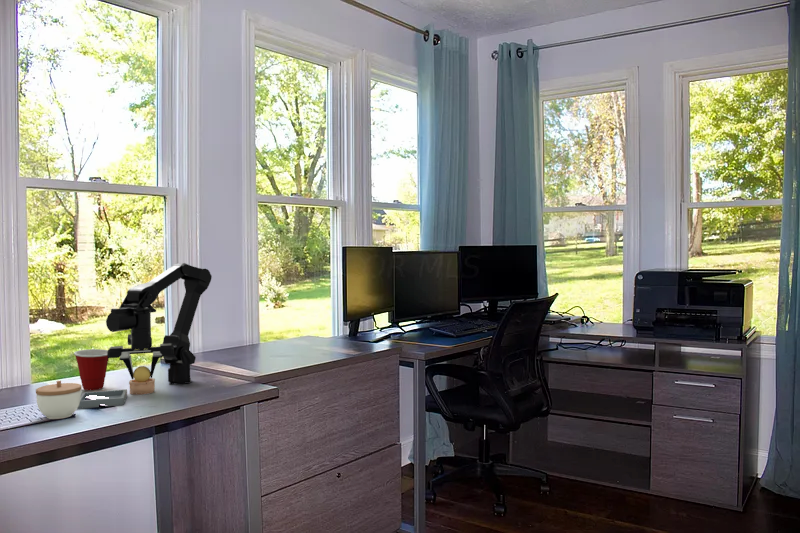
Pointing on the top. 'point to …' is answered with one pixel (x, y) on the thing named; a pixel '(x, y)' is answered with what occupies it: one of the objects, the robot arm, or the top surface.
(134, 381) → the bowl
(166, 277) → the robot arm
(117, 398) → the tray
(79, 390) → the lidded jar
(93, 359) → the plastic cup
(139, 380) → the ball
